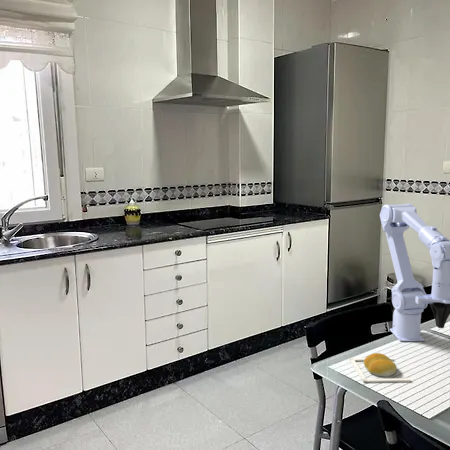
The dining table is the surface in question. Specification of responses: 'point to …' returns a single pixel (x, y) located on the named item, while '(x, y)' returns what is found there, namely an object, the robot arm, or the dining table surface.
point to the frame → (375, 379)
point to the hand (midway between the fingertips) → (439, 326)
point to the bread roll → (380, 365)
